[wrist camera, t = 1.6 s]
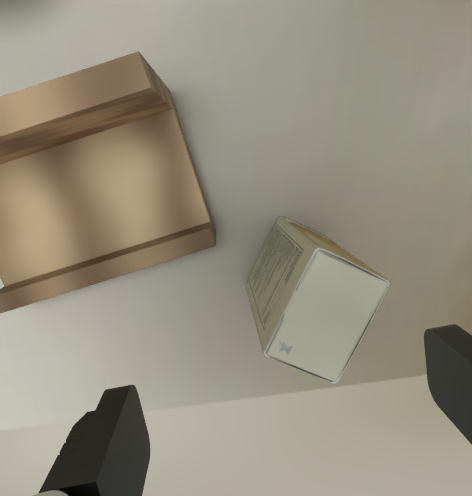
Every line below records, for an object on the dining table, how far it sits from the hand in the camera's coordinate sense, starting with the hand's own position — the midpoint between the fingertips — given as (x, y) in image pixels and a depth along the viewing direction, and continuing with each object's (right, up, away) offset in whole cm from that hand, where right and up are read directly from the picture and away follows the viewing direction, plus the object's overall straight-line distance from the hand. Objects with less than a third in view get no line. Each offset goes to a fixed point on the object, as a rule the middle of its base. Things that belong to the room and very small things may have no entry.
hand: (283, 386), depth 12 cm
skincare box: (+3, +3, +21) cm, 22 cm away
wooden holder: (-12, +8, +19) cm, 24 cm away
